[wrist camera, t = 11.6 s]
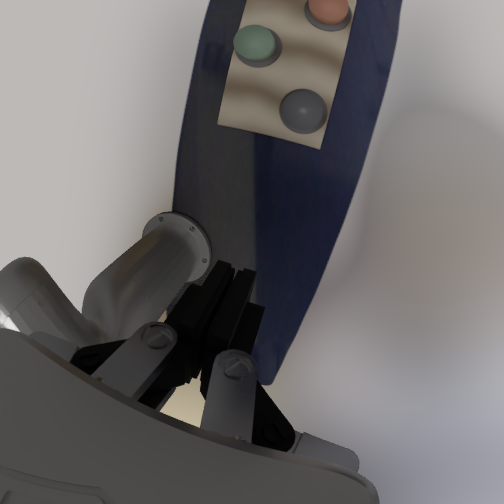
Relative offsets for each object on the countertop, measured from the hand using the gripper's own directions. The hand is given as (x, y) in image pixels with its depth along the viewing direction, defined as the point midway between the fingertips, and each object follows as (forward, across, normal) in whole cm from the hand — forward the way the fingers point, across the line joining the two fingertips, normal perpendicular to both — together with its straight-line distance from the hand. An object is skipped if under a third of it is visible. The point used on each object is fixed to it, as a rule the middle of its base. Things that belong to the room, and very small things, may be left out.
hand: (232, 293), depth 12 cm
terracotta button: (+23, 0, -22) cm, 32 cm away
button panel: (+27, +4, -15) cm, 31 cm away
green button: (+24, +7, -15) cm, 29 cm away
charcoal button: (+24, 0, -8) cm, 25 cm away
